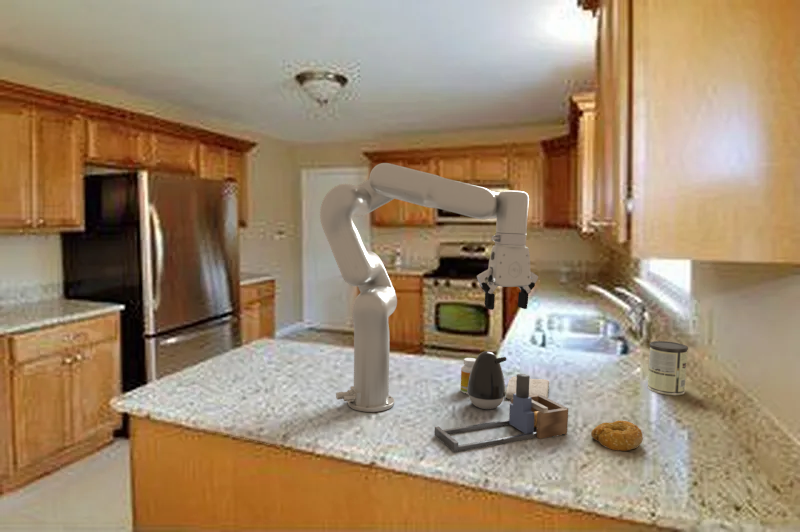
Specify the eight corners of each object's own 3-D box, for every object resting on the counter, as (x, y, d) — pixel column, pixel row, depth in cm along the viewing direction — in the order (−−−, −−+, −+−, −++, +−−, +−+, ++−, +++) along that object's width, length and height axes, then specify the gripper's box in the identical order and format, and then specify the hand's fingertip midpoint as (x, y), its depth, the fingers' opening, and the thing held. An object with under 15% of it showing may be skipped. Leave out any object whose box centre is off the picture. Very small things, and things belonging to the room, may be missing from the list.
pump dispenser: (497, 416, 132) (499, 358, 130) (460, 407, 137) (462, 352, 136) (510, 404, 140) (513, 350, 139) (475, 397, 146) (477, 345, 144)
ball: (549, 429, 123) (536, 432, 122) (539, 423, 127) (525, 425, 126) (549, 413, 123) (536, 416, 122) (539, 407, 127) (525, 410, 125)
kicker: (524, 434, 119) (527, 380, 118) (507, 423, 125) (509, 372, 124) (535, 433, 120) (537, 379, 119) (517, 422, 126) (519, 370, 125)
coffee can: (646, 382, 162) (649, 339, 161) (683, 387, 158) (686, 343, 157) (647, 392, 153) (650, 346, 152) (686, 397, 149) (689, 350, 148)
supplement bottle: (478, 395, 147) (479, 362, 146) (459, 393, 148) (460, 361, 147) (479, 389, 152) (480, 357, 152) (461, 388, 154) (462, 356, 153)
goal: (539, 439, 118) (540, 408, 117) (510, 421, 128) (511, 393, 128) (568, 433, 121) (570, 404, 121) (538, 416, 132) (539, 389, 131)
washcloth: (549, 386, 158) (549, 377, 158) (548, 406, 141) (549, 395, 141) (510, 382, 161) (510, 373, 161) (505, 401, 144) (505, 390, 144)
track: (454, 452, 110) (454, 443, 110) (434, 435, 119) (434, 426, 119) (536, 437, 119) (537, 429, 119) (512, 422, 127) (513, 414, 127)
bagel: (600, 430, 124) (601, 411, 124) (648, 444, 117) (649, 424, 116) (583, 442, 117) (584, 422, 116) (633, 458, 110) (634, 436, 109)
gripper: (488, 240, 120) (483, 312, 122) (548, 242, 127) (543, 310, 128) (472, 239, 127) (468, 306, 129) (530, 241, 134) (526, 305, 135)
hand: (506, 308), depth 128 cm, fingers open, 9 cm apart
